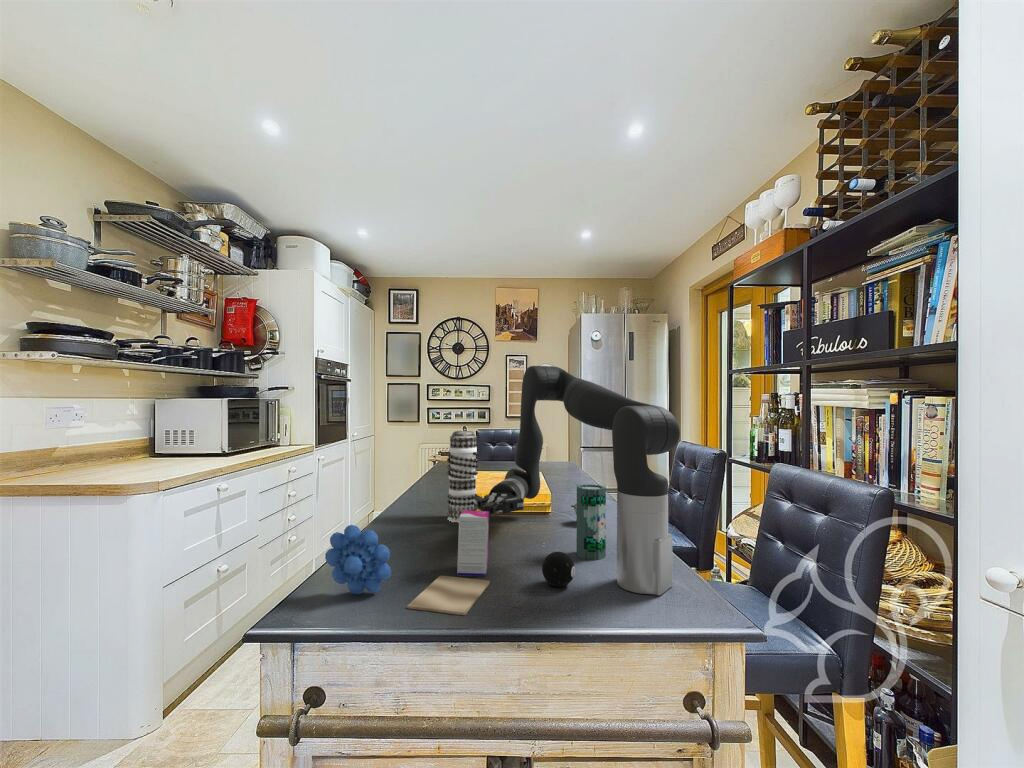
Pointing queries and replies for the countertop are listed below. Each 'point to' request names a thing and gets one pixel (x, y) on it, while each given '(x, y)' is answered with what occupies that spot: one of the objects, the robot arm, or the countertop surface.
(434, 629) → the countertop surface
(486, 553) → the supplement box
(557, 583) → the billiard ball
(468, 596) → the brown paper envelope
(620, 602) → the countertop surface
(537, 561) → the countertop surface
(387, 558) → the blue knobbed wheel
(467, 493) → the grey white cylinder
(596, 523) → the can
